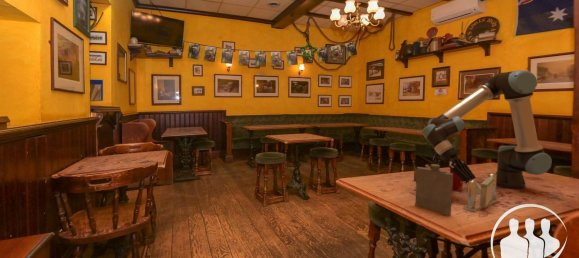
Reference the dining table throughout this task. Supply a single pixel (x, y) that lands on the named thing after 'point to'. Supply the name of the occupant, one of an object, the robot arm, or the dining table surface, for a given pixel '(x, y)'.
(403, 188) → the dining table surface
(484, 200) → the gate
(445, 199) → the hip flask
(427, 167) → the grey flat container
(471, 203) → the gate frame
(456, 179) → the paper cup
